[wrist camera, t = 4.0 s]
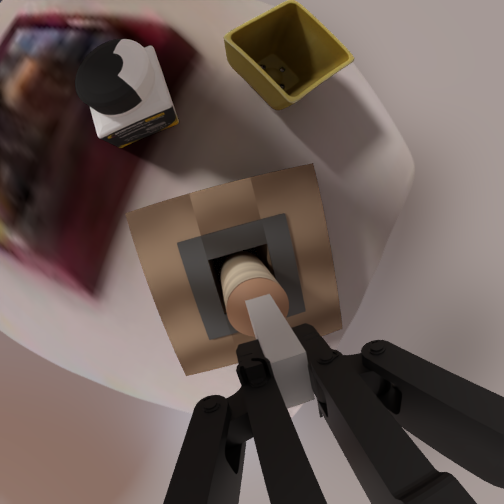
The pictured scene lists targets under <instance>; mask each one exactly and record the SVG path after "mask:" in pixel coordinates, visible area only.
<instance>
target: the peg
mask: <svg viewBox="0 0 504 504" xmlns="http://www.w3.org/2000/svg"><path fill="white" fill-rule="evenodd" d="M220 279H221V284H222V290H223V295H224V301H225V306H226V311H227V316H228V319H229V322H230V323H231V325H232V326H233V327H234V328H235V329H236V330H237V331H238V332H240V333H242V334H244V335H248V336H255V334H254V331H253V327H252V324H251V320H250V317H249V313H248V310H247V306H246V303H245V301H246V300H250V299H253V298H257V297H260V296H263V295H267V294H270V295H271V297H272V298H273V300H274V302H275V303H276V305H277V306H278V308H279V310H280V311H281V313H282V314H283V316H284V318H285V319H286V317H287V314H288V310H289V301H288V297H287V294H286V292H285V291H284V289H283V288H282V287H281V286H280V284H279V283H278V282H277V281H276V279H275V278H274V277H273V275H272V274H271V273H270V272H269V270H268V269H267V268H266V267H265V265H264V264H263V263H262V261H261V260H260V259H259V258H258V257H257V256H256V255H254V254H252V253H249V252H236V253H234V254H232V255H230V256H229V257H227V258H226V259H225V261H224V262H223V264H222V266H221V269H220Z"/></svg>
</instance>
